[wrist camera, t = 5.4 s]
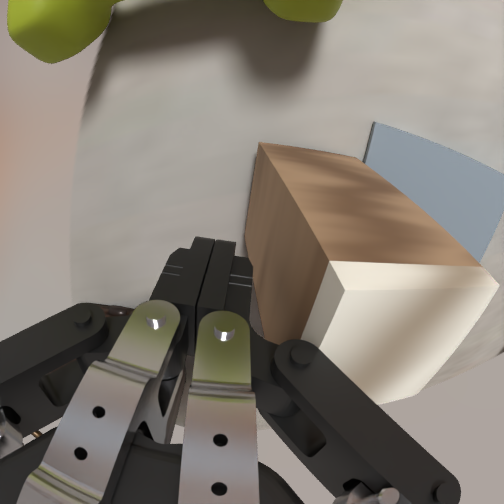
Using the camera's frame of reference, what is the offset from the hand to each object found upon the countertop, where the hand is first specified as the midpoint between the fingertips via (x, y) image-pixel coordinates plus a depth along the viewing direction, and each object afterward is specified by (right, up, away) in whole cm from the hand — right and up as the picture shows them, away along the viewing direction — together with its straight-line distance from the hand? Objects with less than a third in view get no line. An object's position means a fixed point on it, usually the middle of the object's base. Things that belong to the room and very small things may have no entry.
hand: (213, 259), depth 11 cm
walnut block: (+4, +4, +6) cm, 9 cm away
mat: (+14, +2, +7) cm, 16 cm away
